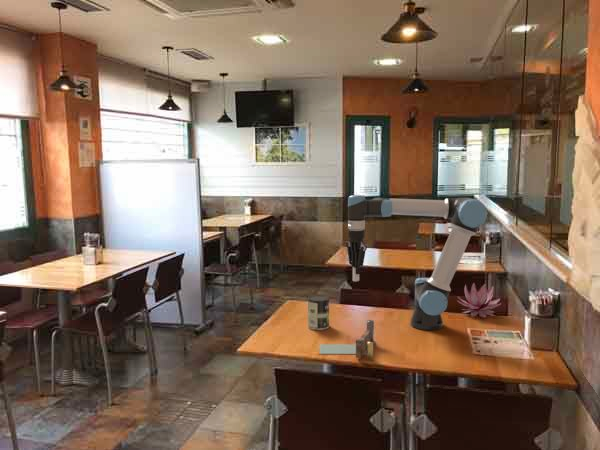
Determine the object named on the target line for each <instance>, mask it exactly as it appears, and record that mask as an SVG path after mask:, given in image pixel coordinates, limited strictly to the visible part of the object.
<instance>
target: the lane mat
mask: <svg viewBox="0 0 600 450" xmlns="http://www.w3.org/2000/svg"><path fill="white" fill-rule="evenodd" d="M318 348H319V352H318V353H319V355H356V344H344V343H343V344H340V343H339V344H337V343H335V344H332V343H331V344H328V343H327V344H323V343H322V344H321V343H320V344H319V347H318ZM363 355H367V350H366V351H365V352H364V354H363Z"/></svg>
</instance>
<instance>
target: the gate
mask: <svg viewBox="0 0 600 450" xmlns="http://www.w3.org/2000/svg"><path fill="white" fill-rule="evenodd" d="M368 341H371V330H367V329H366V330H365V331H364V332H363V334H362V335H361V336H360V337H359V338H356V339H355V345H356V354H355V358H356V359H361V358H362V357H363V355H365V354H364V352H365V351H366V350H367V342H368Z"/></svg>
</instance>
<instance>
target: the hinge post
mask: <svg viewBox="0 0 600 450" xmlns="http://www.w3.org/2000/svg"><path fill="white" fill-rule="evenodd" d="M374 324H375V321H374V320H372V319H368V320H366V330H371V342H373V346H376V344H377V342H376V341H375V340H374V339H375V335H374V333H375V331H374V329H375V325H374Z"/></svg>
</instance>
